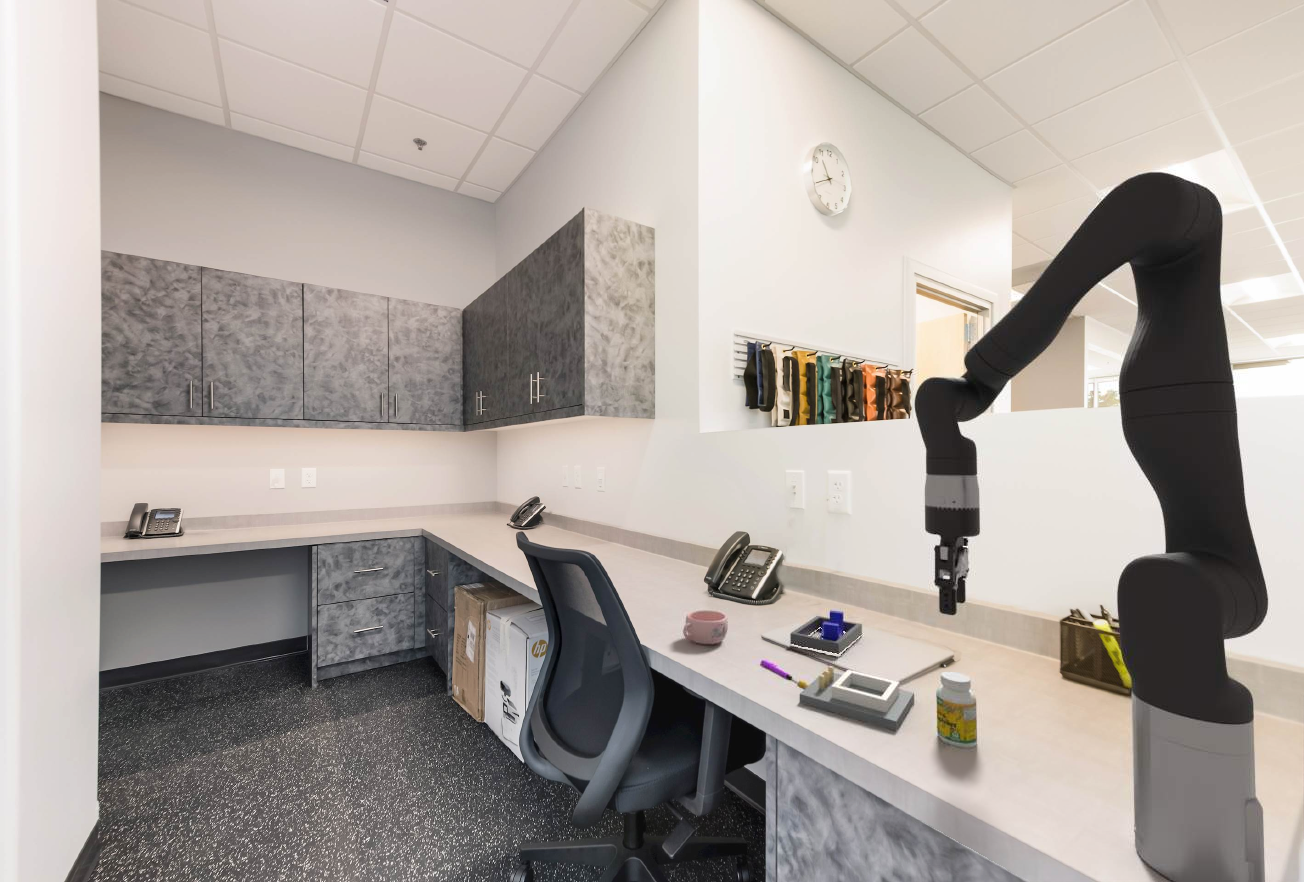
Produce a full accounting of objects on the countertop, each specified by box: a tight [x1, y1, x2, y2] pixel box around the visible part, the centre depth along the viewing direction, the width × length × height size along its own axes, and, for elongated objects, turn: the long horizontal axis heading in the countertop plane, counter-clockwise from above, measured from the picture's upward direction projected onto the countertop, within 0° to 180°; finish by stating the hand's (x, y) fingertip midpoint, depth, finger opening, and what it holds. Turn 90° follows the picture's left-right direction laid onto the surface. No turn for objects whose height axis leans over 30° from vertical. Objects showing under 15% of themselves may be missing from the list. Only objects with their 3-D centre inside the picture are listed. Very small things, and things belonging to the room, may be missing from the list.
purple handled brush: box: [760, 659, 810, 689], centre depth 106 cm, size 3×1×16 cm
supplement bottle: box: [935, 671, 978, 749], centre depth 83 cm, size 5×5×10 cm
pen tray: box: [789, 615, 863, 654], centre depth 126 cm, size 11×17×3 cm, turn 143°
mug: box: [682, 609, 729, 645], centre depth 126 cm, size 12×10×6 cm
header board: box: [799, 665, 915, 731], centre depth 95 cm, size 16×13×4 cm
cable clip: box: [820, 610, 844, 641], centre depth 126 cm, size 12×4×6 cm, turn 155°
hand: (953, 607), depth 84 cm, fingers open, 8 cm apart
